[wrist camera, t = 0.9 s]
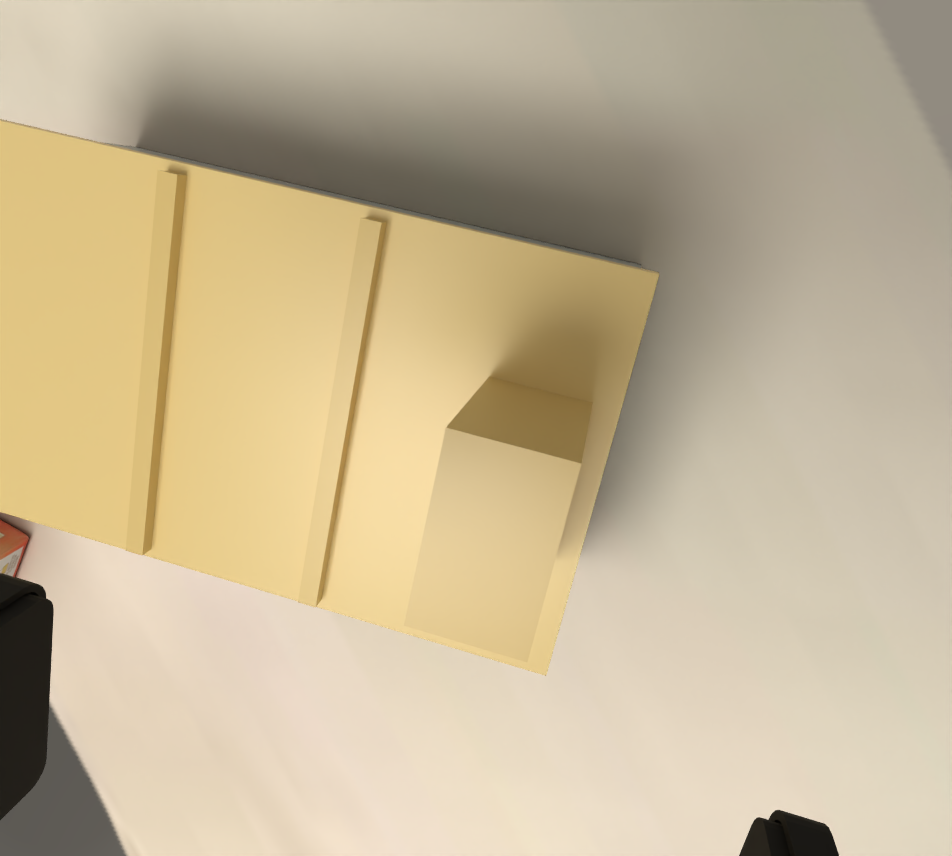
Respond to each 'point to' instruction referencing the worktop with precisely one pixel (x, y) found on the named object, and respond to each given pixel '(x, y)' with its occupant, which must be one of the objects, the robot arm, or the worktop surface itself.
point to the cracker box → (11, 548)
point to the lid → (307, 390)
